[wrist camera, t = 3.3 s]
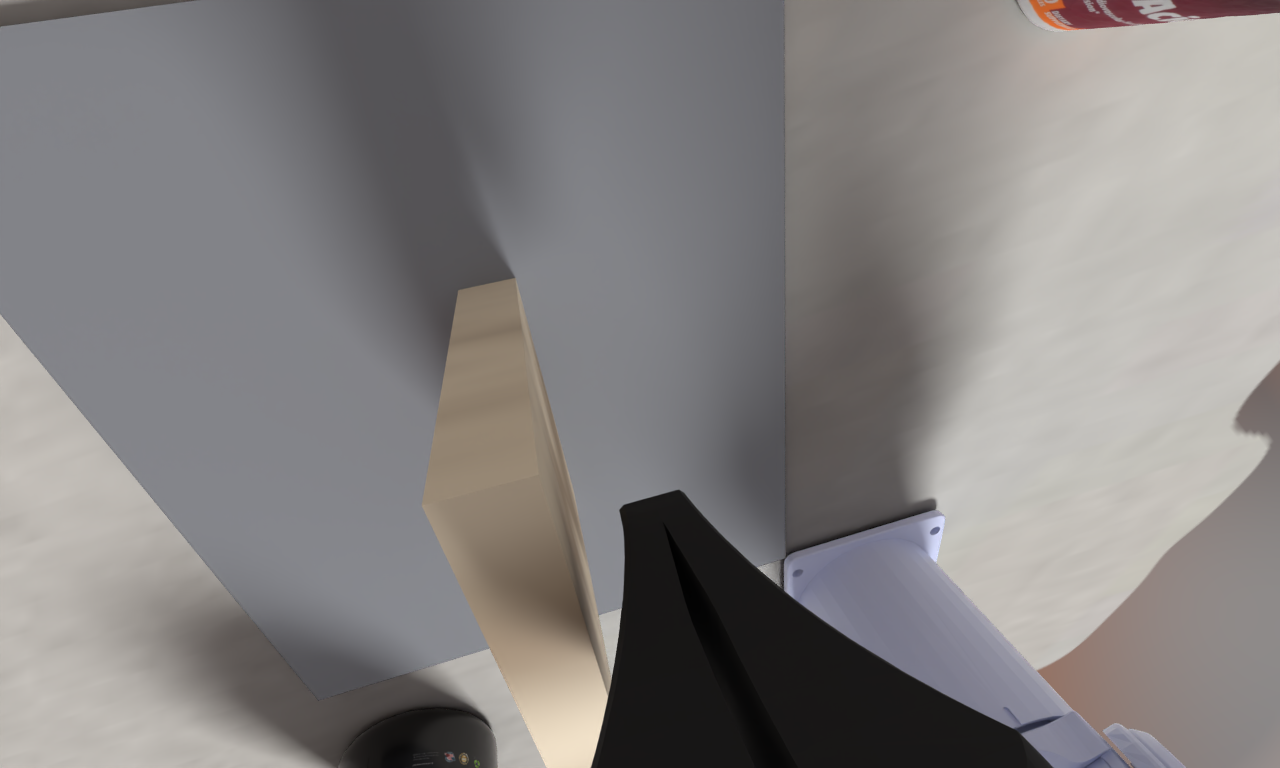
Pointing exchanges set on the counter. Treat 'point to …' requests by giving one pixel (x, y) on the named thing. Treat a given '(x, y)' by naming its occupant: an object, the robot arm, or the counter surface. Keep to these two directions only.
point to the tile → (517, 525)
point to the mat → (400, 276)
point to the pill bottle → (1134, 11)
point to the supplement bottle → (424, 742)
